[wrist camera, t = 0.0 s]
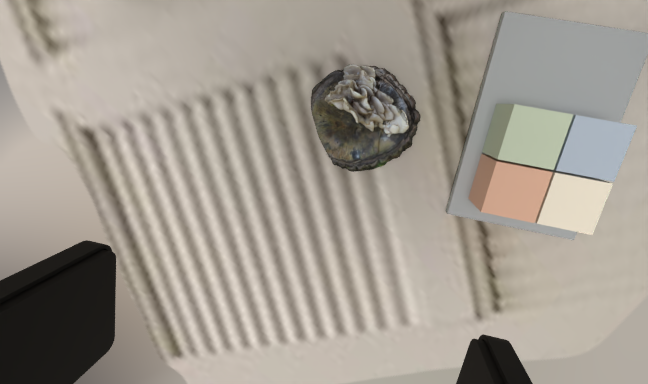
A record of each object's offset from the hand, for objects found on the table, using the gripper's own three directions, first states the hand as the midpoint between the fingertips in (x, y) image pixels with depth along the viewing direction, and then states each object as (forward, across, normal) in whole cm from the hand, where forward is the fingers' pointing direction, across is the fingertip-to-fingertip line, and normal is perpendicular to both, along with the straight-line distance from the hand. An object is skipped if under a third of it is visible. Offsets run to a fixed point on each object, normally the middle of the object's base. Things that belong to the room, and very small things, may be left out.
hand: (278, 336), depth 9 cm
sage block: (+30, -15, -6) cm, 34 cm away
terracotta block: (+30, -15, 0) cm, 34 cm away
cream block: (+30, -20, 0) cm, 36 cm away
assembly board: (+31, -18, -6) cm, 36 cm away
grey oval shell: (+32, 0, -4) cm, 32 cm away
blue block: (+30, -20, -6) cm, 37 cm away
